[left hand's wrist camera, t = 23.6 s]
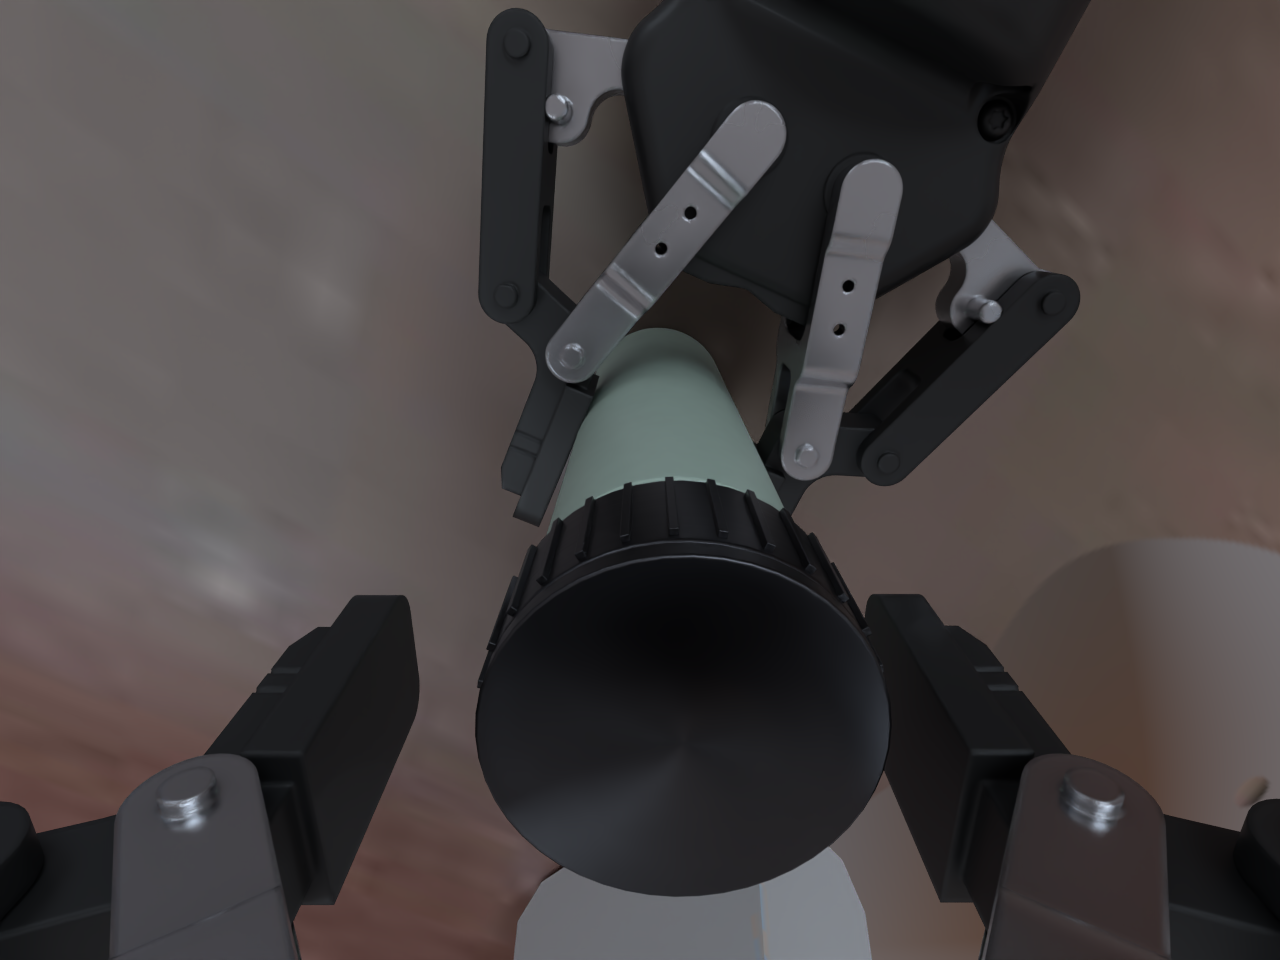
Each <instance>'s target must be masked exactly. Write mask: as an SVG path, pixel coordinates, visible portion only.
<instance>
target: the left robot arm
mask: <svg viewBox="0 0 1280 960" xmlns="http://www.w3.org/2000/svg"><path fill="white" fill-rule="evenodd" d="M865 621H866V622H867V624H868V626H869V628H870V630H871V632H872V634H871V635H869V636H868V638H869V640H870V641H871V643H872V645H873V647H874V649H875V651H876V653H877V655H878V656H879V658H880V660H881V662H882V664H883V668H884V672H883V674H884V677H885V680H886V684H887V688H888V693H889V697H890V702H891V717H892V728H891V739H890V748H889V752H888V756H887V760H886V764H885V768H884V771H885V774H886V776H887V778H888V781H889V783H890V785H891V788H892V790H893V792H894V795H895V797H896V799H897V802H898V804H899V806H900V809H901V811H902V813H903V816H904V818H905V820H906V823H907V825H908V827H909V830H910V832H911V834H912V837H913V839H914V841H915V844H916V846H917V848H918V851H919V853H920V855H921V858H922V860H923V862H924V865H925V867H926V869H927V872H928V874H929V877H930V879H931V881H932V883H933V886H934V888H935V891H936V893H937V895H938V898H939V900H940V902H973V903H974V905H975V907H976V909H977V911H978V913H979V916H980V918H981V920H982V922H983V924H984V926H985V932H984V936H983V940H982V945H981V949H980V954H979V958H978V960H1280V799H1269V800H1264V801H1260V802H1258V803H1256V804H1255V805H1253V806H1252V807H1251V808H1250V810H1249V811H1248V814H1247V816H1246V819H1245V822H1244V824H1243V827H1242V829H1241V832H1238V831H1234V830H1229V829H1225V828H1221V827H1216V826H1212V825H1208V824H1203V823H1199V822H1195V821H1190V820H1186V819H1182V818H1177V817H1173V816H1169V815H1165V814H1163V813H1162V810H1161V808H1160V806H1159V805H1158V804H1157V802H1156V801H1155V799H1154V798H1153V797H1152V796H1151V795H1150V794H1149V793H1148V792H1147V791H1146V790H1145V789H1144V788H1143V787H1142V786H1141V785H1139V784H1138V783H1137V782H1135V781H1134V780H1133V779H1131V778H1130V777H1128V776H1127V775H1125V774H1123V773H1122V772H1120V771H1118V770H1116V769H1114V768H1112V767H1110V766H1108V765H1106V764H1103V763H1101V762H1098V761H1096V760H1092V759H1089V758H1086V757H1082V756H1077V755H1072V754H1070V752H1069V751H1068V750H1067V748H1066V747H1065V746H1064V744H1063V743H1062V742H1061V741H1060V739H1059V738H1058V737H1057V735H1056V734H1055V733H1054V732H1053V730H1052V729H1051V728H1050V727H1049V725H1048V724H1047V723H1046V721H1045V720H1044V719H1043V717H1042V716H1041V715H1040V714H1039V712H1038V711H1037V710H1036V708H1035V707H1034V706H1033V705H1032V703H1031V702H1030V701H1029V699H1028V698H1027V697H1026V696H1025V694H1024V693H1023V692H1022V691H1019V690H1018V685H1017V684H1016V683H1015V681H1014V680H1013V679H1012V678H1011V676H1010V675H1009V674H1008V672H1004V667H1003V666H1002V665H1001V663H1000V662H999V661H998V660H997V658H996V657H995V656H994V654H993V653H992V652H991V650H990V649H989V648H988V647H987V645H985V644H984V643H982V642H981V641H980V640H978V639H977V638H975V637H974V636H972V635H971V634H969V633H968V632H966V631H965V630H963V629H962V628H960V627H959V626H944V624H943V623H942V621H941V620H940V619H939V617H938V616H937V614H936V613H935V612H934V610H933V609H932V607H931V606H930V605H929V603H928V602H927V600H926V599H925V598H924V597H923V596H922V595H920V594H872V595H871V596H870V597H869V599H868V602H867V605H866V611H865ZM418 701H419V673H418V666H417V658H416V650H415V642H414V635H413V627H412V619H411V611H410V606H409V602H408V600H407V598H406V597H405V596H403V595H356V596H354V597H352V599H351V600H350V601H349V602H348V604H347V605H346V607H345V608H344V609H343V611H342V612H341V614H340V615H339V616H338V618H337V619H336V620H335V622H334V623H333V625H332V626H331V627H317V628H316V629H314V630H313V631H311V632H310V633H308V634H307V635H305V636H304V637H302V638H301V639H299V640H298V641H296V642H295V643H293V644H292V645H290V646H289V647H288V648H287V650H286V651H285V652H284V654H283V655H282V656H281V657H280V659H279V660H278V661H277V662H276V664H275V665H274V666H273V668H272V669H271V674H267V675H266V676H265V678H264V679H263V680H262V682H261V683H260V684H259V685H258V687H257V691H256V693H252V694H251V696H250V697H249V698H248V699H247V701H246V702H245V703H244V704H243V706H242V707H241V708H240V710H239V711H238V712H237V713H236V715H235V716H234V717H233V718H232V720H231V721H230V722H229V724H228V725H227V726H226V727H225V729H224V730H223V731H222V732H221V734H220V735H219V736H218V738H217V739H216V740H215V741H214V743H213V744H212V745H211V747H210V748H209V749H208V750H207V752H206V753H205V754H204V755H203V756H198V757H194V758H191V759H187V760H184V761H182V762H179V763H177V764H174V765H172V766H170V767H168V768H166V769H164V770H162V771H160V772H158V773H157V774H155V775H153V776H152V777H150V778H149V779H147V780H146V781H145V782H143V783H142V784H141V785H139V786H138V787H137V788H136V789H135V790H134V791H133V792H132V793H131V794H130V795H129V796H128V797H127V798H126V799H125V801H124V802H123V804H122V805H121V806H120V808H119V810H118V812H117V815H113V816H109V817H106V818H102V819H98V820H93V821H89V822H85V823H80V824H76V825H72V826H67V827H63V828H59V829H54V830H50V831H46V832H41V833H37V834H36V832H35V829H34V826H33V824H32V821H31V819H30V816H29V814H28V812H27V811H26V810H25V808H23V807H22V806H20V805H18V804H14V803H11V802H1V801H0V960H302V958H301V954H300V949H299V945H298V940H297V936H296V932H295V927H294V923H293V920H294V918H295V916H296V914H297V912H298V910H299V908H300V906H301V905H334V904H335V901H336V899H337V897H338V895H339V892H340V890H341V888H342V885H343V883H344V881H345V878H346V876H347V874H348V872H349V869H350V867H351V865H352V862H353V860H354V858H355V855H356V853H357V851H358V848H359V846H360V844H361V842H362V839H363V837H364V835H365V832H366V830H367V828H368V825H369V823H370V821H371V818H372V816H373V814H374V812H375V809H376V807H377V805H378V802H379V800H380V798H381V795H382V793H383V791H384V789H385V786H386V784H387V782H388V779H389V777H390V775H391V772H392V770H393V768H394V765H395V763H396V761H397V759H398V756H399V754H400V752H401V749H402V747H403V745H404V742H405V740H406V738H407V735H408V733H409V731H410V729H411V726H412V724H413V722H414V719H415V716H416V712H417V708H418Z"/></svg>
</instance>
